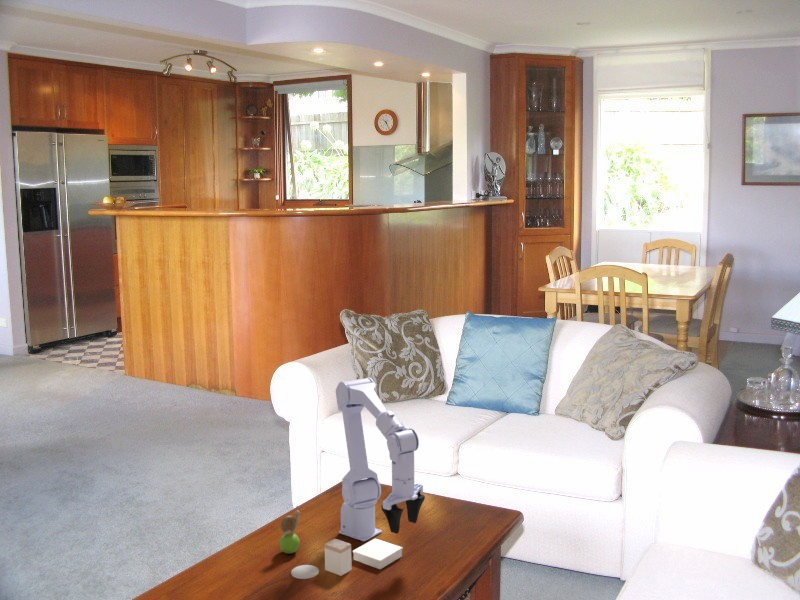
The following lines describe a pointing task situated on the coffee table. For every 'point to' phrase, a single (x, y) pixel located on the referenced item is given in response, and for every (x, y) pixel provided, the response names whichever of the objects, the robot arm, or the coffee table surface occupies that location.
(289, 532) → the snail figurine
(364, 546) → the podium
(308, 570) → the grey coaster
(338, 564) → the carton
